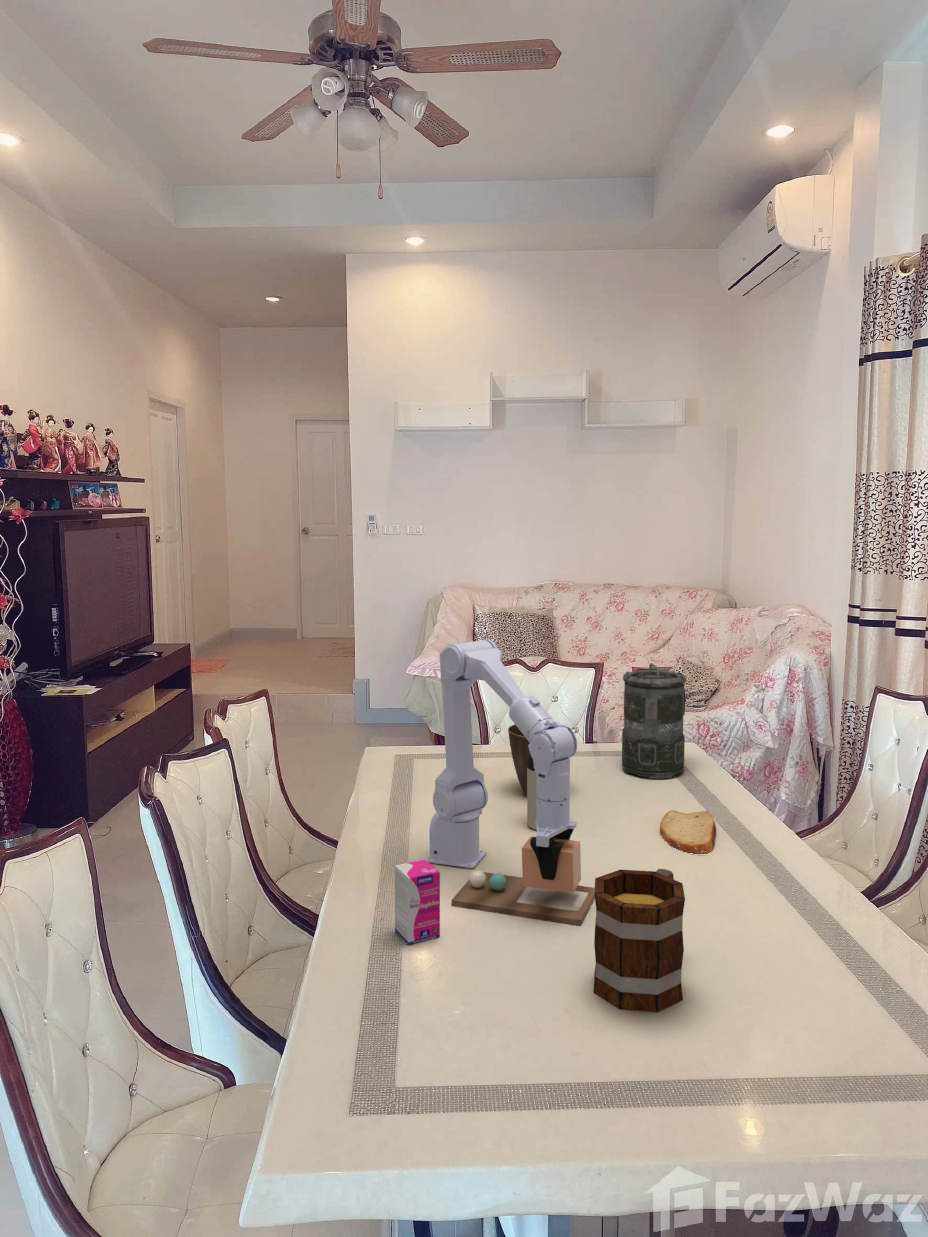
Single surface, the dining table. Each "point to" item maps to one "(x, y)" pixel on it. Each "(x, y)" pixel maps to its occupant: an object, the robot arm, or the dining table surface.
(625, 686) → the canister
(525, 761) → the plant pot
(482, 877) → the cream marble
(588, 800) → the dining table surface
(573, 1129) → the dining table surface
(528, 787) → the travel mug
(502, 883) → the teal marble
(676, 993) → the mug
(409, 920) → the supplement box
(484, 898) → the walnut board
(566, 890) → the terracotta cover
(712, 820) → the slice of bread
